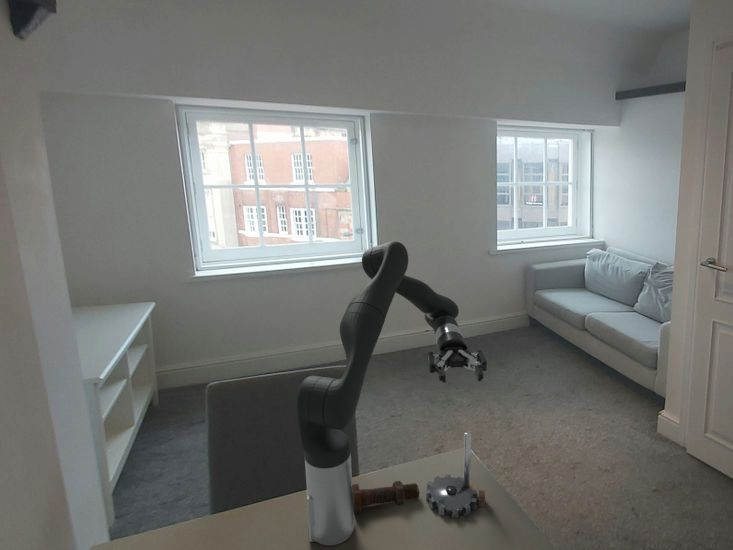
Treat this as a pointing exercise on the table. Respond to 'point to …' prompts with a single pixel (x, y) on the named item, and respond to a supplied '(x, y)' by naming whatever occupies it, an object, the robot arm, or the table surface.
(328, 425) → the robot arm
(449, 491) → the sprocket
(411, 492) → the bolt
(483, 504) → the brown block
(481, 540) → the table surface
